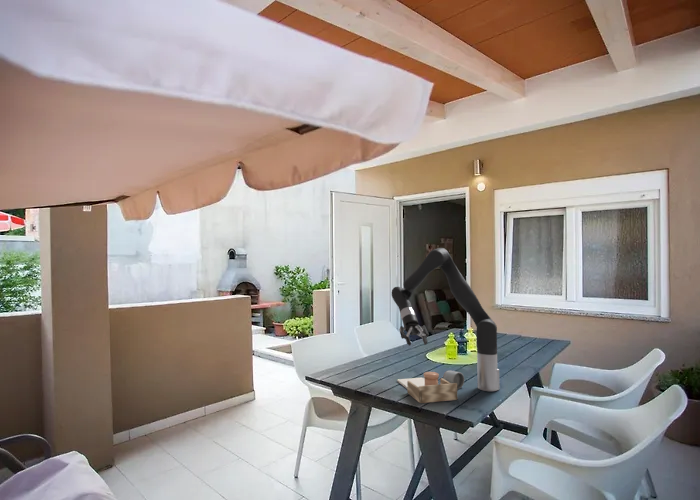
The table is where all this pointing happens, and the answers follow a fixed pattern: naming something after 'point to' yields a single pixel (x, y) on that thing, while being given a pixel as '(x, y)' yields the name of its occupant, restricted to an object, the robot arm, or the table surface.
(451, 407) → the table surface
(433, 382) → the tan round-topped cylinder
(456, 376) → the ceramic mug
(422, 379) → the stone tile
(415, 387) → the wooden frame
